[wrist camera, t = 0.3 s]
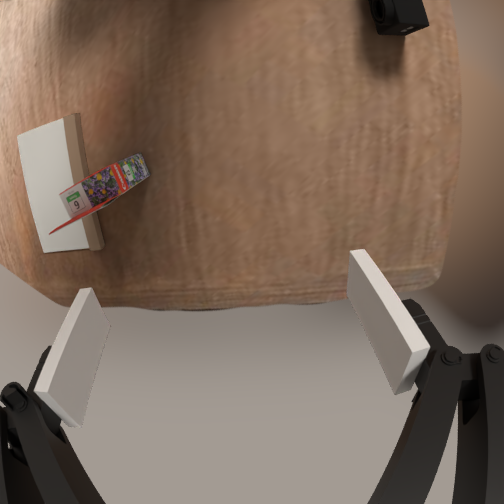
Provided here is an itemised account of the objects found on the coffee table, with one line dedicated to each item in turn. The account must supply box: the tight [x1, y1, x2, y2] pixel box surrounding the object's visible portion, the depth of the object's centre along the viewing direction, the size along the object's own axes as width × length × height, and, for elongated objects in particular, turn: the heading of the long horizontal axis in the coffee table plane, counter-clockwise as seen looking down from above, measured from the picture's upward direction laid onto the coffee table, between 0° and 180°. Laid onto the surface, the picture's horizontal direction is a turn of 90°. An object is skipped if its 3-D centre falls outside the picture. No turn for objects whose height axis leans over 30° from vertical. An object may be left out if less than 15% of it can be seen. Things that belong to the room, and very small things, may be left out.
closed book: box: [17, 113, 105, 253], centre depth 38 cm, size 20×13×2 cm, turn 5°
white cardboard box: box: [49, 153, 150, 235], centre depth 32 cm, size 4×8×15 cm, turn 109°
